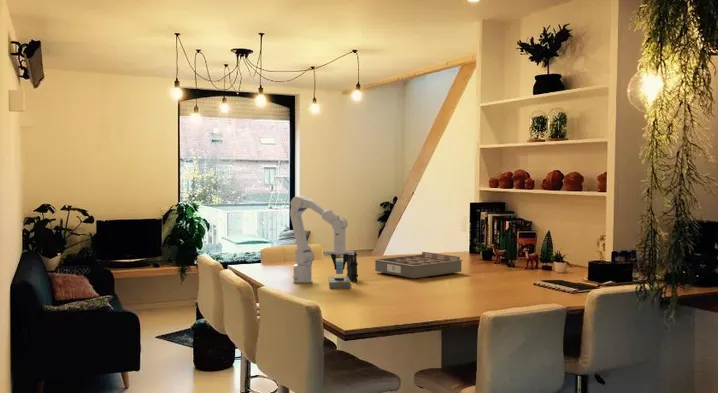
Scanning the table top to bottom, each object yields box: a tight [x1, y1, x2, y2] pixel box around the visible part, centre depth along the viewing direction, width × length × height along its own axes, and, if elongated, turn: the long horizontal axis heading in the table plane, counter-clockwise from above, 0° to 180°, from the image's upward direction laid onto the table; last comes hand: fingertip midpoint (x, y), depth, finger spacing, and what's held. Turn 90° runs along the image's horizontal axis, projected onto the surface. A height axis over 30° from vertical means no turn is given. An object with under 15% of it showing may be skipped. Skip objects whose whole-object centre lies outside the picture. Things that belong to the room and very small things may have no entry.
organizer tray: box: [373, 251, 464, 279], centre depth 345 cm, size 32×40×10 cm
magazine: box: [345, 251, 359, 282], centre depth 321 cm, size 4×13×15 cm, turn 14°
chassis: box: [328, 275, 351, 290], centre depth 304 cm, size 10×18×3 cm, turn 4°
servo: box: [335, 259, 344, 275], centre depth 304 cm, size 3×10×6 cm, turn 4°
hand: (339, 269), depth 304 cm, fingers closed on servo, 3 cm apart
